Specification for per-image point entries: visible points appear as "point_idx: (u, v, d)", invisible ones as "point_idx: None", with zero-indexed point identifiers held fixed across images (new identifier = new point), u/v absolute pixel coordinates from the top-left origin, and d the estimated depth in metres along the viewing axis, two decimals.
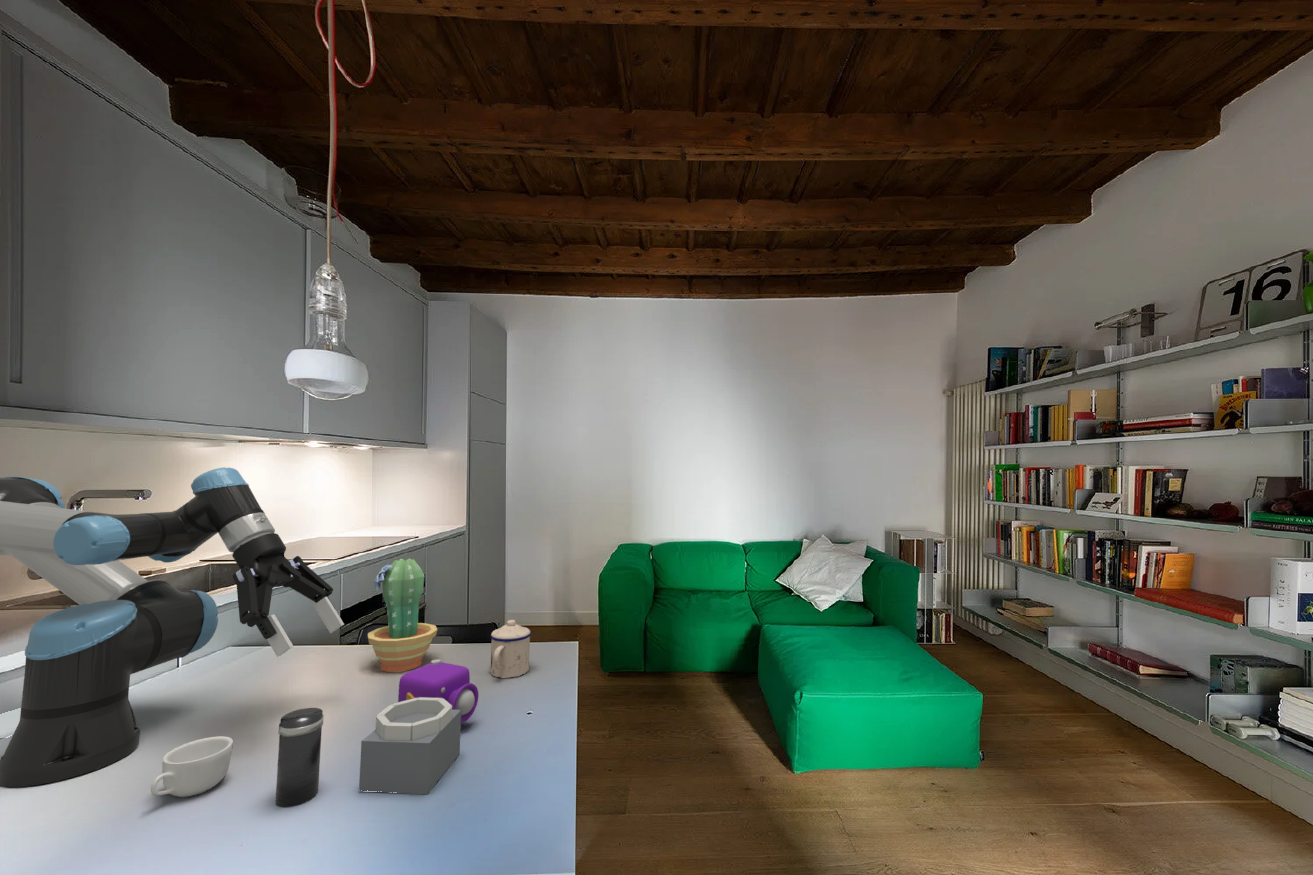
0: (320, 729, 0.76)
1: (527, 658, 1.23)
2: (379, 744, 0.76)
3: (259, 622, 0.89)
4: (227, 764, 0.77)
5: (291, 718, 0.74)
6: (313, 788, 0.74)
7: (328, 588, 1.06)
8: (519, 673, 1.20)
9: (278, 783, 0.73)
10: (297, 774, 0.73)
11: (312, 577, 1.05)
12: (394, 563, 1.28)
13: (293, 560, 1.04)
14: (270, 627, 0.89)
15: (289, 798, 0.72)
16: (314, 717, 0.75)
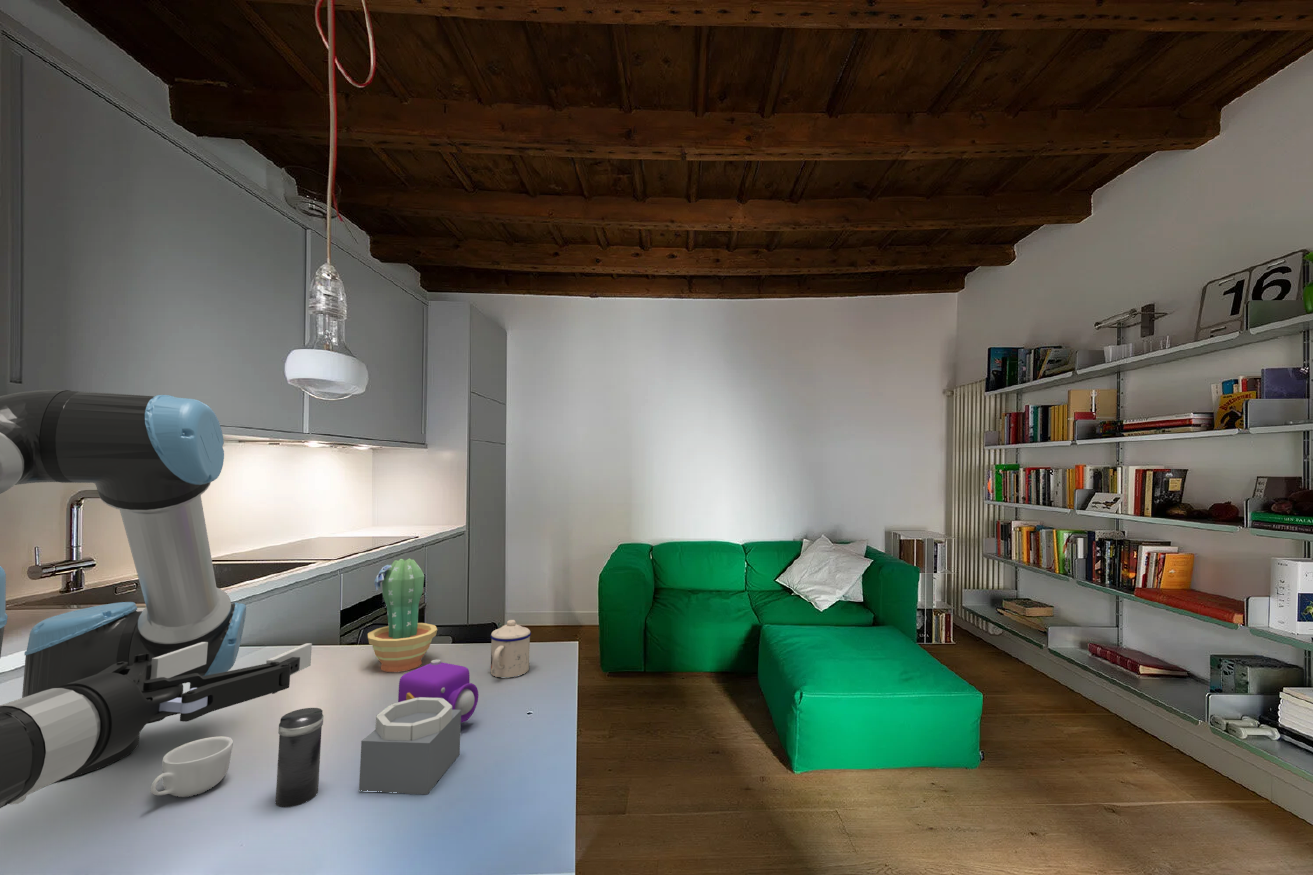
0: (320, 729, 0.76)
1: (527, 658, 1.23)
2: (379, 744, 0.76)
3: None
4: (227, 764, 0.77)
5: (291, 718, 0.74)
6: (313, 788, 0.74)
7: None
8: (519, 673, 1.20)
9: (278, 783, 0.73)
10: (297, 774, 0.73)
11: None
12: (394, 563, 1.28)
13: None
14: None
15: (289, 798, 0.72)
16: (314, 717, 0.75)
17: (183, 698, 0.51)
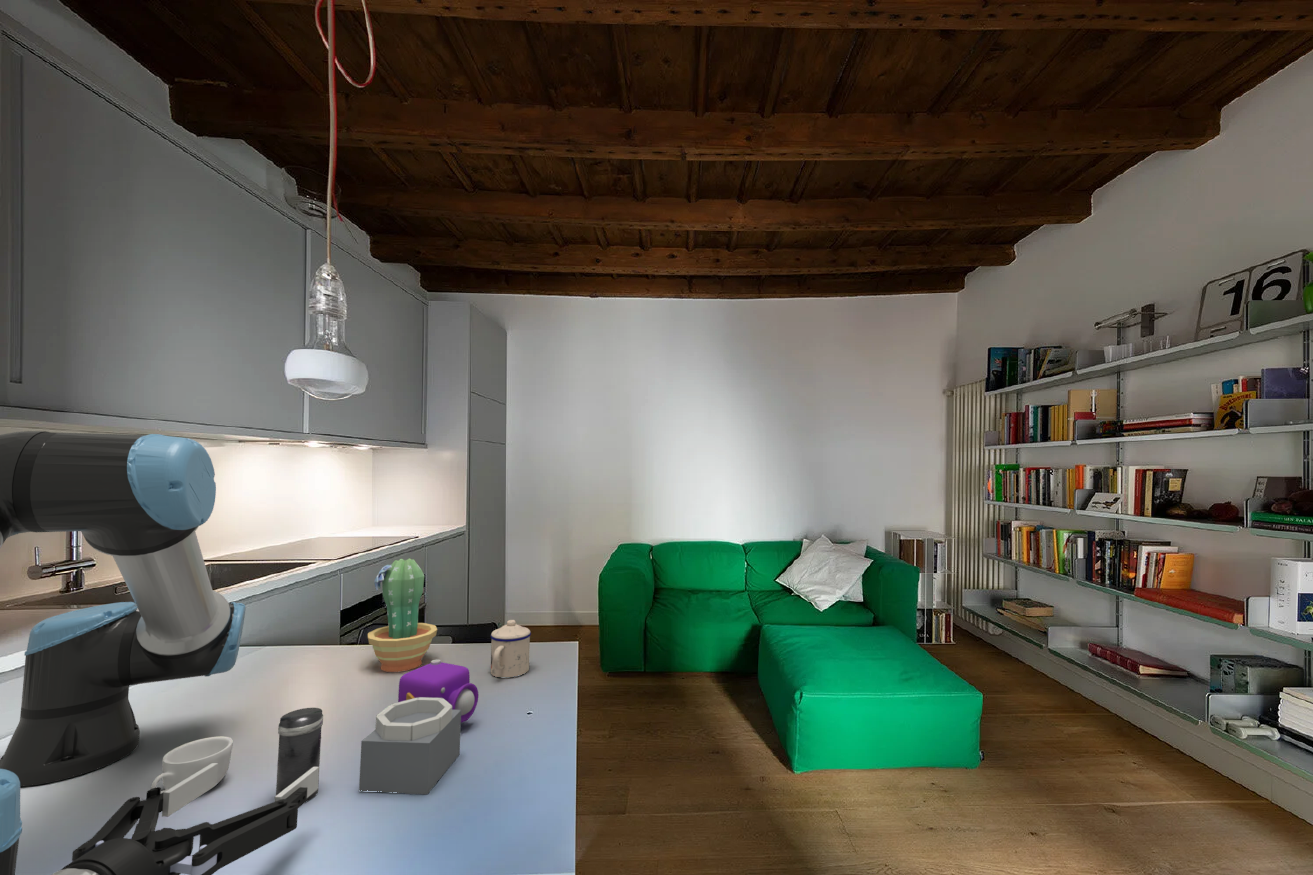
0: (320, 729, 0.76)
1: (527, 658, 1.23)
2: (379, 744, 0.76)
3: None
4: (227, 764, 0.77)
5: (291, 718, 0.74)
6: None
7: None
8: (519, 673, 1.20)
9: (278, 783, 0.73)
10: (296, 774, 0.73)
11: None
12: (394, 563, 1.28)
13: None
14: None
15: None
16: (314, 717, 0.75)
17: (193, 861, 0.52)
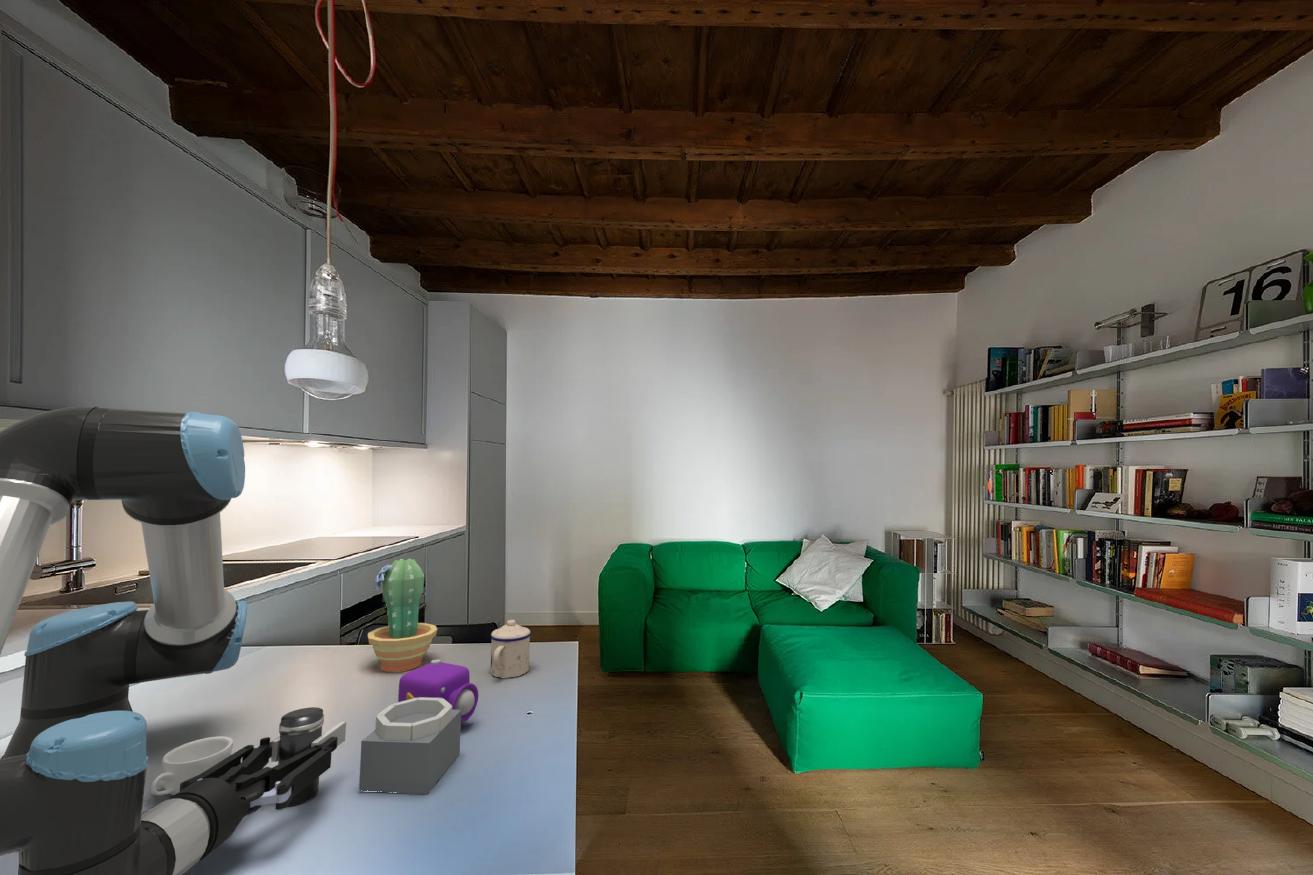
0: (320, 728, 0.76)
1: (527, 658, 1.23)
2: (379, 744, 0.76)
3: None
4: None
5: (292, 717, 0.74)
6: (313, 788, 0.74)
7: None
8: (519, 673, 1.20)
9: None
10: None
11: None
12: (394, 563, 1.28)
13: (276, 801, 0.63)
14: None
15: None
16: (315, 716, 0.75)
17: (280, 790, 0.63)
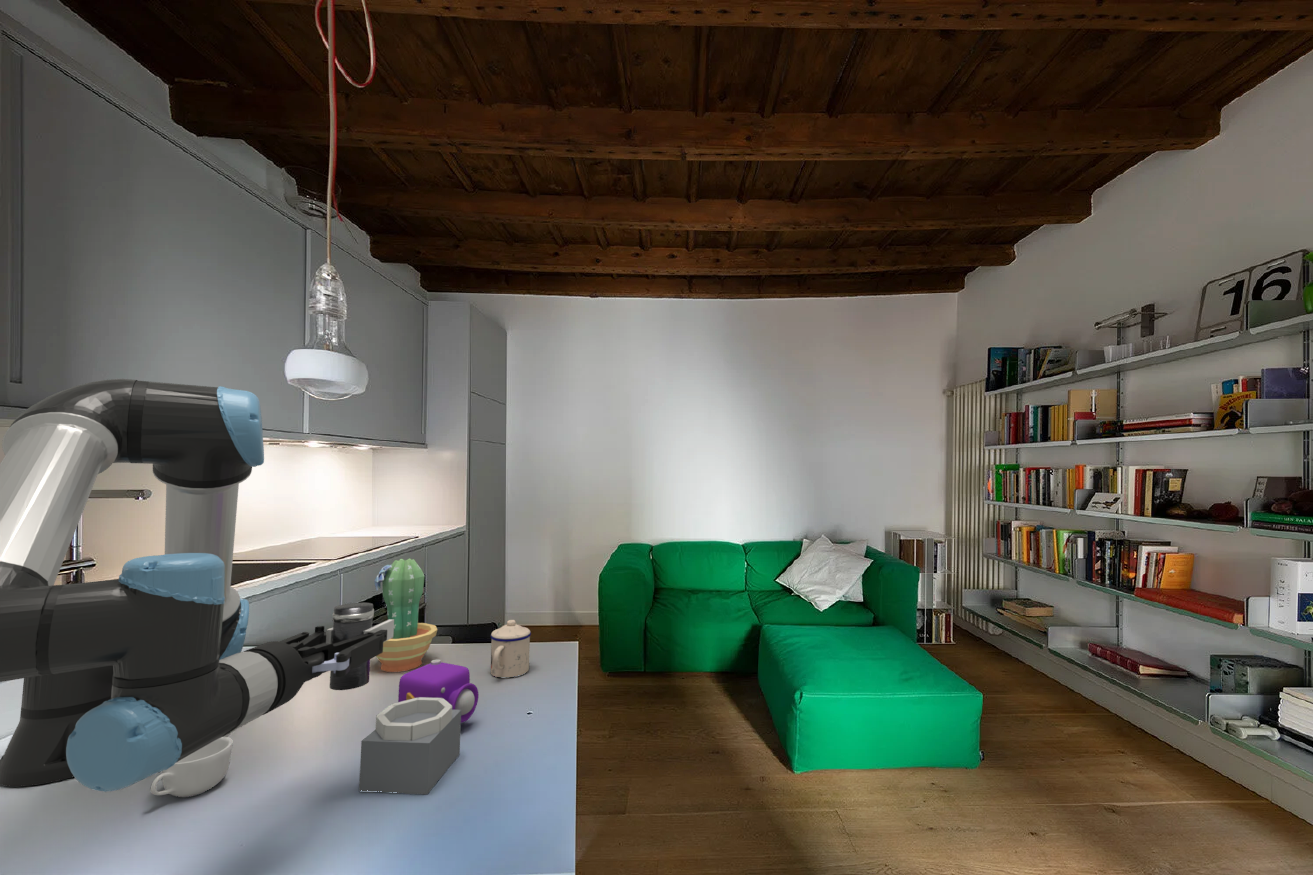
0: (371, 620, 0.78)
1: (527, 658, 1.23)
2: (379, 744, 0.76)
3: None
4: (227, 764, 0.77)
5: (344, 607, 0.77)
6: (365, 675, 0.77)
7: None
8: (519, 673, 1.20)
9: None
10: None
11: None
12: (394, 563, 1.28)
13: (335, 669, 0.66)
14: None
15: (343, 681, 0.75)
16: (366, 607, 0.77)
17: (340, 658, 0.66)
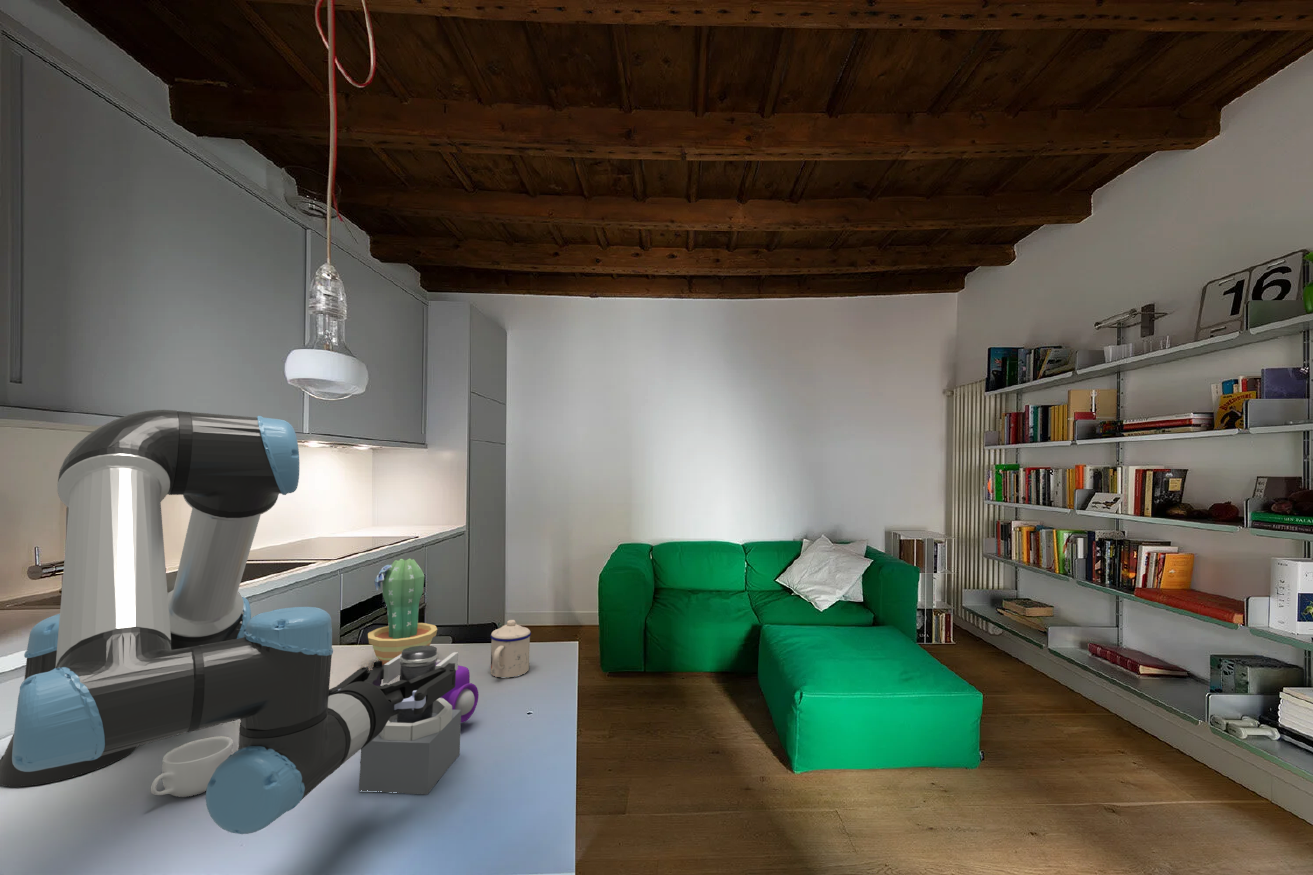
0: (435, 664, 0.83)
1: (527, 658, 1.23)
2: (379, 744, 0.76)
3: None
4: None
5: (411, 652, 0.81)
6: (429, 717, 0.81)
7: None
8: (519, 673, 1.20)
9: None
10: None
11: None
12: (394, 563, 1.28)
13: (414, 707, 0.70)
14: None
15: None
16: (432, 652, 0.82)
17: (417, 697, 0.70)
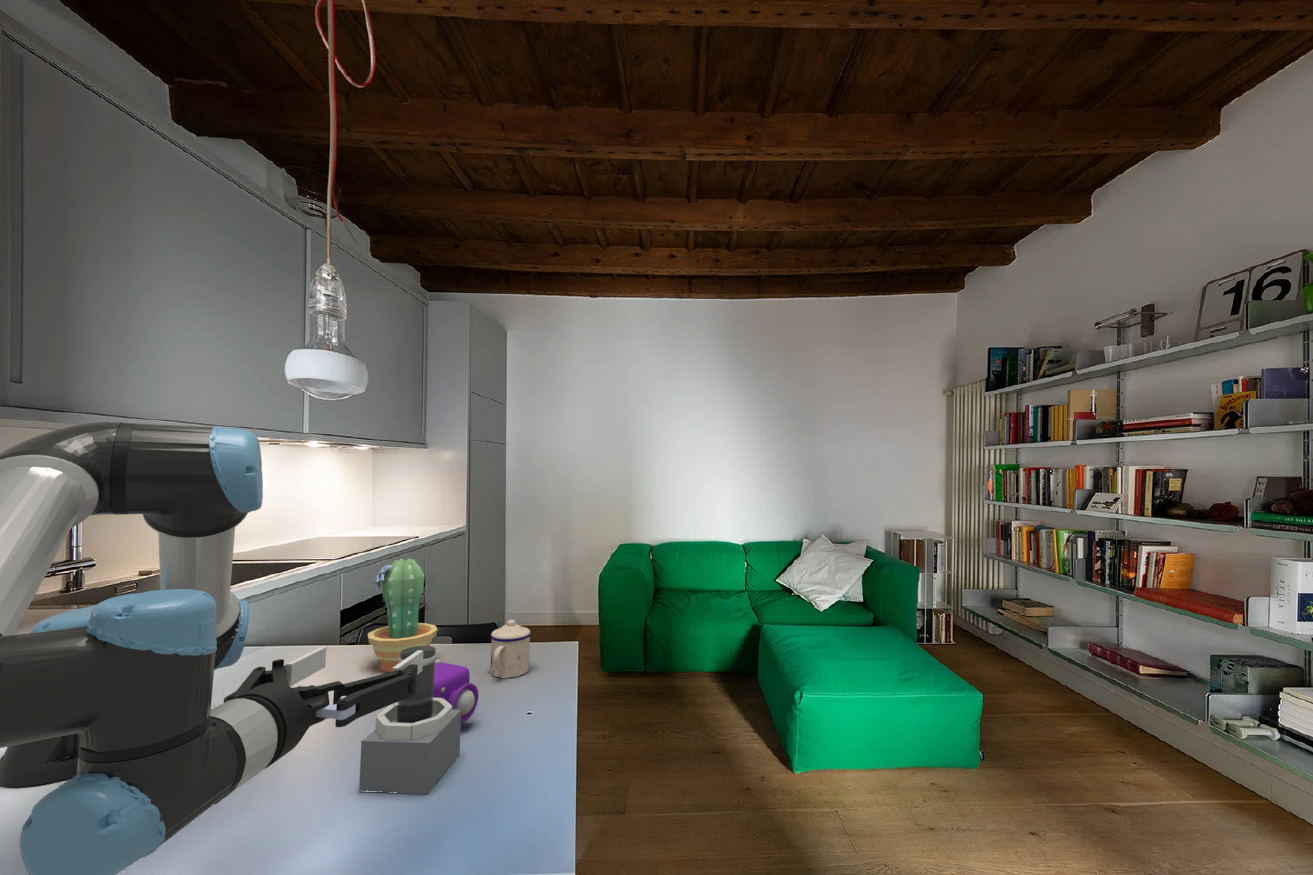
0: (434, 664, 0.83)
1: (527, 658, 1.23)
2: (379, 744, 0.76)
3: None
4: None
5: (409, 652, 0.81)
6: (429, 717, 0.81)
7: None
8: (519, 673, 1.20)
9: (400, 710, 0.79)
10: (416, 702, 0.79)
11: None
12: (394, 563, 1.28)
13: None
14: None
15: None
16: (430, 652, 0.81)
17: (338, 706, 0.56)
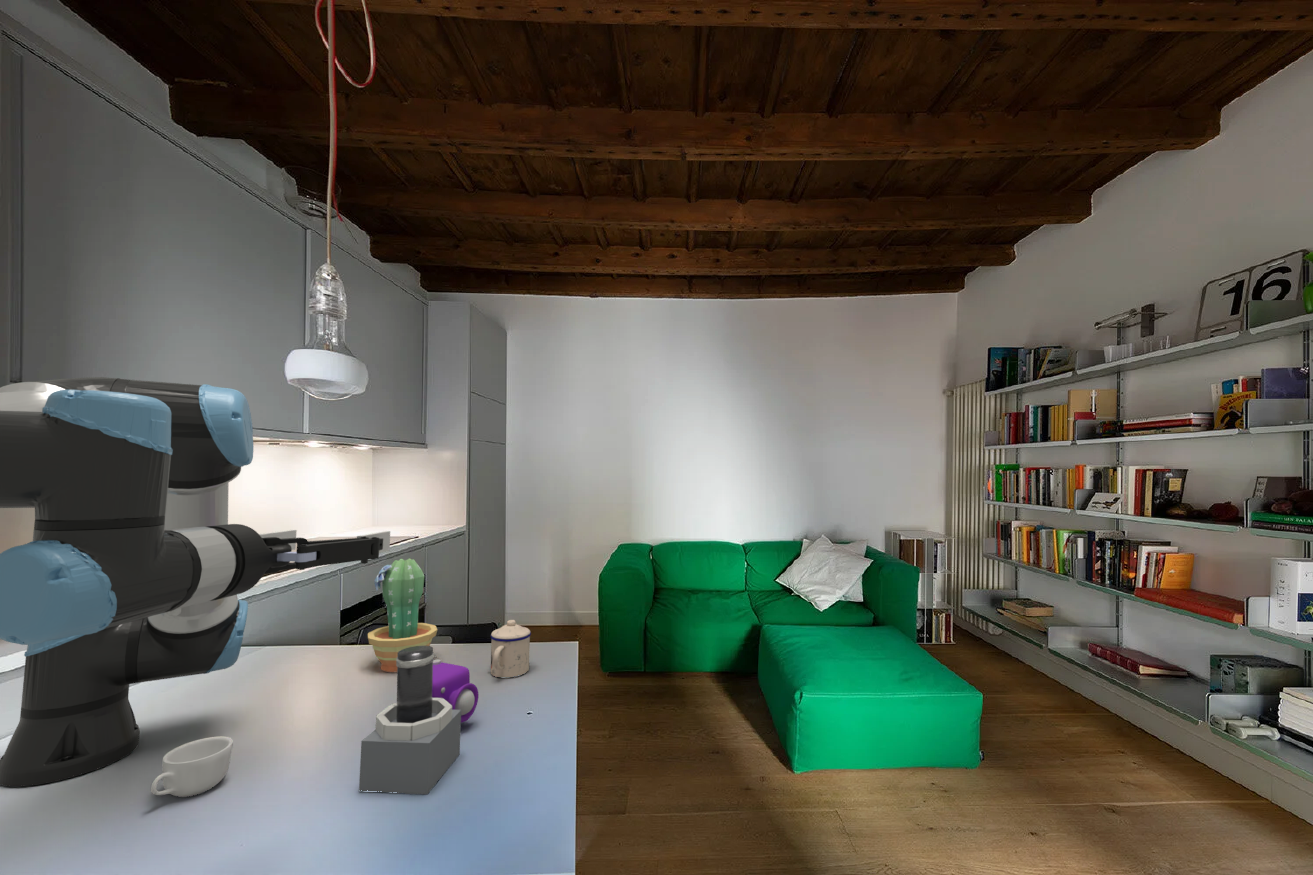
0: (432, 664, 0.82)
1: (527, 658, 1.23)
2: (379, 744, 0.76)
3: None
4: (227, 764, 0.77)
5: (407, 653, 0.81)
6: (428, 716, 0.81)
7: None
8: (519, 673, 1.20)
9: (399, 711, 0.79)
10: (415, 703, 0.79)
11: None
12: (394, 563, 1.28)
13: None
14: None
15: None
16: (427, 652, 0.81)
17: (298, 549, 0.58)
